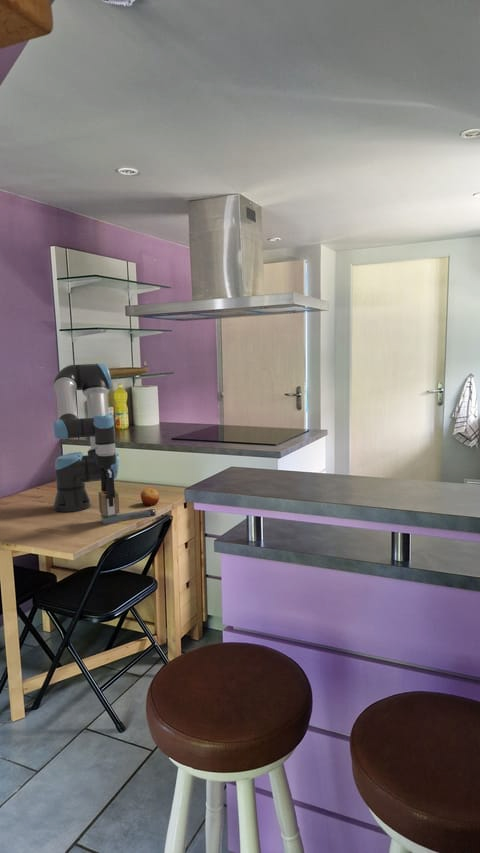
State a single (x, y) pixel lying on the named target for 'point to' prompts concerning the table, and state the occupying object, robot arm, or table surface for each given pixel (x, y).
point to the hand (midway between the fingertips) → (109, 511)
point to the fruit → (149, 496)
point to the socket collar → (104, 503)
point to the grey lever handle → (126, 516)
